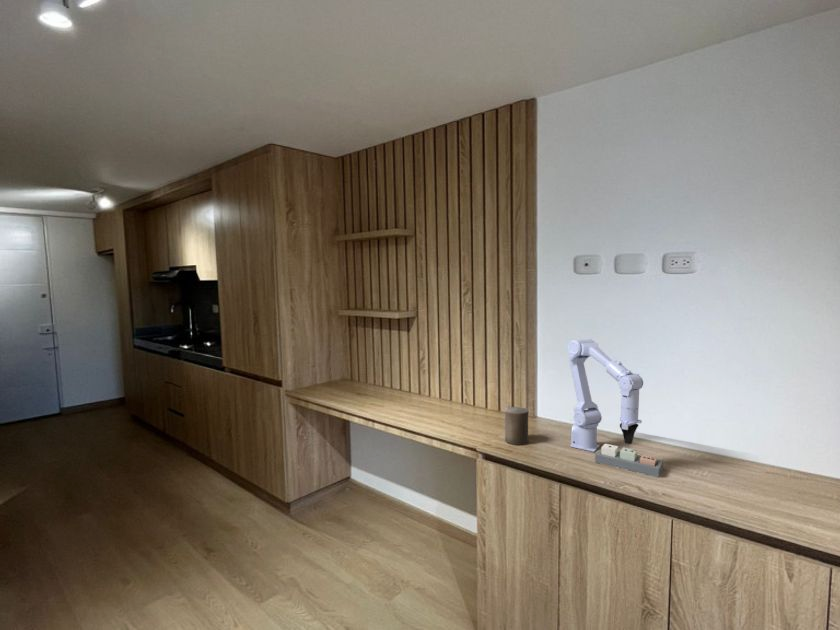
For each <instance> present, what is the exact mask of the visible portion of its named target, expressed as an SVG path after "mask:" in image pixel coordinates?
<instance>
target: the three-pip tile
mask: <svg viewBox="0 0 840 630" xmlns="http://www.w3.org/2000/svg"><path fill="white" fill-rule="evenodd" d="M640 456H641V458H640V463H643V464H647V465H652V466H656V465H657V459H658V458H657V457H655V456H649V455H644V454H642V455H640Z"/></svg>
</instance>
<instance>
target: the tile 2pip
mask: <svg viewBox="0 0 840 630" xmlns="http://www.w3.org/2000/svg"><path fill="white" fill-rule="evenodd" d="M619 451H620V458H621V459H625V460H629V461H634V462H635V461H636V460H637V455H638V449H633V448H627V447H622V448H621V450H619Z"/></svg>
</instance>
